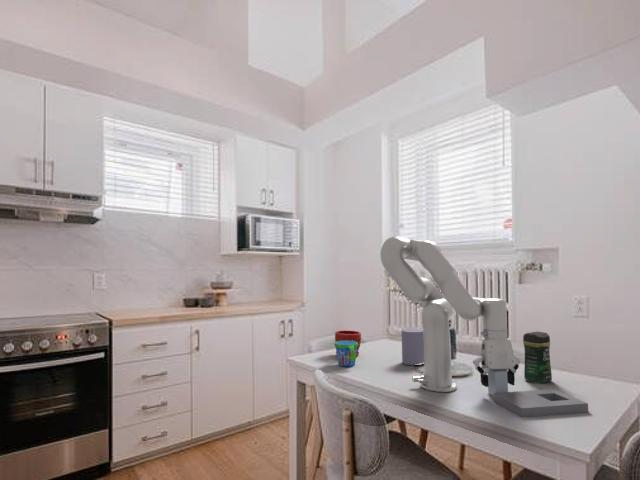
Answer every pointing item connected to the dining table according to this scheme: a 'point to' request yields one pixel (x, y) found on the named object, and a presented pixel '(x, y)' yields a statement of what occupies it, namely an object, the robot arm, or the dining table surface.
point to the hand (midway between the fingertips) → (497, 384)
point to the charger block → (497, 381)
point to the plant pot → (348, 337)
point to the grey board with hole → (540, 402)
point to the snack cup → (346, 352)
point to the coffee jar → (537, 357)
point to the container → (412, 346)
